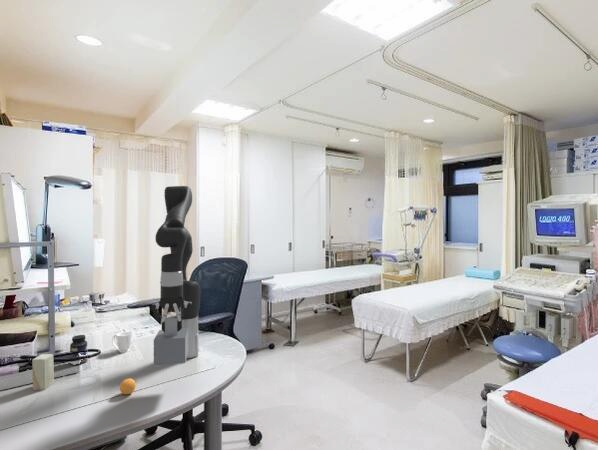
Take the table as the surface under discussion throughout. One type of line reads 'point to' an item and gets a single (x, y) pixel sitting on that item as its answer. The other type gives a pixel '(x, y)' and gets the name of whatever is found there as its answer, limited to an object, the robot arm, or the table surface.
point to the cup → (123, 341)
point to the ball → (127, 386)
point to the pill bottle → (79, 345)
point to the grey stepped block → (171, 344)
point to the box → (43, 371)
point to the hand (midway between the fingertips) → (171, 331)
